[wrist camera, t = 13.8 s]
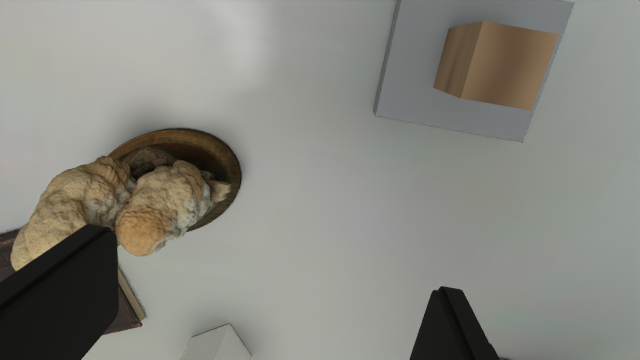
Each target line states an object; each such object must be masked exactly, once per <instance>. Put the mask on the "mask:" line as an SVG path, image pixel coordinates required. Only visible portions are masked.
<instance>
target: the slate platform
mask: <svg viewBox="0 0 640 360" xmlns="http://www.w3.org/2000/svg"><path fill="white" fill-rule="evenodd" d="M573 5H574V3H572V2H567V1H561V0H397V4H396V8H395V13H394V18H393V22H392V27H391V31H390V36H389V40H388V45H387V50H386V54H385V59H384V63H383V68H382V72H381V77H380V82H379V86H378V91H377V95H376V100H375V104H374V109H373V112H374V114H375V116H376V117H382V118H388V119H393V120H399V121H404V122H410V123H415V124H421V125H427V126H432V127H438V128H443V129H449V130H454V131H460V132H466V133H471V134H477V135H482V136H488V137H493V138H499V139H505V140H510V141H516V142H521V143H523V140H524V137H525V135H526V132H527V129H528V126H529V124H530V121H531V118H532V116H533V113H534V110H535V108H536V105H537V102H538V100H539V97H540V94H541V92H542V89H543V86H544V83H545V81H546V78H547V75H548V73H549V70H550V67H551V65H552V62H553V59H554V57H555V54H556V51H557V49H558V46H559V43H560V40H561V38H562V35H563V32H564V30H565V27H566V24H567V22H568V19H569V16H570V14H571V11H572V8H573ZM481 21H486V22H492V23H497V24H503V25H509V26H515V27H520V28H526V29H532V30H538V31H543V32H549V33H555V34H559V36H558V39H557V41H556V44H555V47H554V50H553V52H552V55H551V58H550V61H549V63H548V66H547V69H546V72H545V74H544V77H543V80H542V83H541V85H540V88H539V91H538V94H537V96H536V99H535V102H534V105H533V107H532V110H531V111H530V110H524V109H518V108H513V107H507V106H501V105H495V104H490V103H484V102H478V101H472V100H467V99H461V98H458V97H456V96H453V95H450V94H448V93H445V92H443V91H440V90H437V89H435V88H433V86H434V82H435V78H436V74H437V70H438V67H439V63H440V59H441V55H442V52H443V48H444V44H445V40H446V36H447V33H448V29H449V28H454V27H458V26H463V25H467V24H472V23H476V22H481Z"/></svg>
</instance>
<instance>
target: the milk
mask: <svg viewBox="0 0 640 360" xmlns="http://www.w3.org/2000/svg"><path fill="white" fill-rule="evenodd" d="M180 360H251V355H250V353H249V352H248V350H247V349H246V347H245V346H244V344H243V343H242V341H241V340H240V338H239V337H238V335H237V334H236V332H235V331H234V329H233V328H232V326H231V325H230V324H227V325H224V326H222V327H219V328H216V329H213V330H211V331H208V332H205V333H203V334H200V335H197V336H194V337H192V338H191V340H190V342H189V344H188V346H187V347H186V349H185V351H184V353H183V355H182V357H181V359H180Z"/></svg>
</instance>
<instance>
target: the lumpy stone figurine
mask: <svg viewBox="0 0 640 360" xmlns="http://www.w3.org/2000/svg"><path fill="white" fill-rule="evenodd" d="M240 184H241V171H240V168H239V163H238V161H237V159H236V156H235V155H234V154H233V152H232V150H231V149H230V148H229V147H228V146H227V145H225V144H224V143H223V142H222V141H221V140H220V139H218V138H216V137H215V136H213V135H211V134H208V133H205V132H202V131H197V130H191V129H181V128H178V129H165V130H159V131H155V132H151V133H147V134H144V135H142V136H139V137H137V138H134V139H132V140H130V141H128V142H126V143H124V144H122V145H121V146H119V147H118V148H116V149H115V150H114V151H113V152H112V153H110V154H109V155H108V156H107V157H106V156H101V157H99V158H97V159H96V161H94V162H93V163H90V164H85V165H80V166H78V167H76V168H73V169H68V170H66V171H64V172H62V173H60V174H59V175H57V176H56V177H55V178H53V179H52V180H51V182H50V183H49V185H48V186H47V189H46V191H44V193H43V194H42V195H41V196H40V201H39V203H38V204H37V206H36V209H35V211H34V213H33V214H32V216H31V217H30V220H29V223H27V224H26V225H24V226H23V227H22V228H21V230H20V231H19V233H18V235H17V237H16V240H15V241H14V245H13V249H12V253H11V255H10V256H11V263H12V266H13V267H14V270H16V271H18V270H19V269H20V268H22V267H23V266H25V265H26V264H28V263H29V262H31V261H32V260H34V259H35V258H37V257H38V256H40V255H41V254H43V253H44V252H46V251H47V250H49V249H50V248H52V247H53V246H55V245H56V244H58V243H59V242H61V241H62V240H64V239H65V238H66V237H68V236H69V235H71V234H72V233H74V232H75V231H77V230H78V229H80V228H81V227H83V226H84V225H86V224H95V225H100V226H106V227H109V228H111V230H112V233H115V234H116V236H117V247H118V246H119V245H120V244H121V245H122V246H123V247H124V249H125V250H126V251H127V252H129V253H130V254H132V255H135V256H148V255H150V254H151V253H153V252H157V251H159V250H160V249H161V248H162V247H164V246H165V243H166V242H167V241H168V240H175V239H178V238H180V237H182V236H184V234H185V233H186V232H189V231H192V230H195V229H198V228H200V227H203V226H205V225H207V224H208V223H210V222H212V221H213V220H215V219H216V218H217V217H219V216H220V215H222V214H223V213H224V212H225V210H226V209H228V208H229V206H230V205H231V204H232V202H233V201H234V199H235V197H236V195H237V193H238V190H239V188H240Z"/></svg>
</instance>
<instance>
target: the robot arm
mask: <svg viewBox="0 0 640 360" xmlns="http://www.w3.org/2000/svg"><path fill="white" fill-rule="evenodd" d="M118 311H119V291H118V255H117V236H116V234H115V233H112V230H111V228H109V227H106V226H100V225H95V224H86V225H84V226H83V227H81V228H80V229H78V230H77V231H75V232H74V233H72V234H71V235H69V236H68V237H66V238H65V239H64V240H62V241H61V242H59V243H58V244H56V245H55V246H53V247H52V248H50V249H49V250H47V251H46V252H44V253H43V254H41V255H40V256H38V257H37V258H35V259H34V260H32V261H31V262H29V263H28V264H26V265H25V266H23V267H22V268H20V269H19V270H18V271H16V272H15V273H13V274H12V275H10V276H9V277H7V278H6V279H4V280H3V281H1V282H0V360H81V359H82V358H83V357H84V356H85V354H86V353H87V352H88V351H89V350H90V349H91V347H92V346H93V345H94V344H95V343H96V341H97V340H98V339H99V338H100V337H101V336H102V334H103V333H104V332H105V331H106V330H107V328H108V327H109V326H110V325H111V324H112V323H113V321H114V320H115V318H116V316H117V314H118ZM410 360H502V359H499V357H498V355H497V353H496V351H495V350H494V348H493V346H492V345H491V344H490V343H489V342H488V340H487V338H486V336H485V334H484V332H483V330H482V328H481V326H480V324H479V322H478V320H477V318H476V316H475V314H474V312H473V310H472V308H471V306H470V304H469V302H468V300H467V298H466V296H465V295H464V293H463V291H462V290H460V289H455V288H449V287H444V286H441V287H440V288H439V289H438V291H437V290H433V292H432V293H431V296H430V299H429V302H428V305H427V308H426V311H425V314H424V317H423V320H422V323H421V326H420V329H419V332H418V335H417V338H416V341H415V344H414V347H413V351H412V354H411V357H410Z"/></svg>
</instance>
